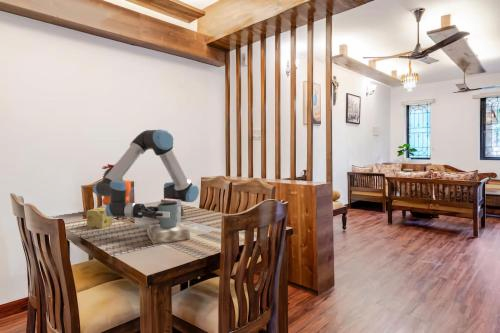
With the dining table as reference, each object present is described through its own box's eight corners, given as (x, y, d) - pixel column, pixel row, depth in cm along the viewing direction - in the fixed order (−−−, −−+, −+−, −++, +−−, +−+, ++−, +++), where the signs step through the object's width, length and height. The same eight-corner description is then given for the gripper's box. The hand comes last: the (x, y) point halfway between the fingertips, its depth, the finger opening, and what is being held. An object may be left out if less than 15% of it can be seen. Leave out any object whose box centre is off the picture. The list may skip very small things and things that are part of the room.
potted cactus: (92, 212, 218) (92, 163, 216) (111, 207, 240) (111, 162, 238) (120, 214, 215) (120, 164, 213) (137, 208, 237) (137, 162, 235)
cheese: (102, 228, 177) (101, 211, 176) (85, 227, 179) (85, 210, 179) (113, 224, 187) (113, 207, 187) (97, 223, 189) (97, 207, 189)
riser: (180, 230, 174) (180, 221, 174) (189, 239, 158) (189, 229, 158) (147, 234, 166) (147, 225, 166) (153, 243, 150) (153, 233, 150)
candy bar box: (160, 227, 181) (160, 199, 180) (165, 225, 186) (165, 198, 185) (176, 229, 177) (176, 200, 176) (181, 227, 182) (181, 199, 181)
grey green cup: (154, 227, 161) (153, 205, 159) (166, 222, 170) (165, 201, 169) (171, 229, 157) (170, 206, 156) (182, 224, 166) (181, 202, 165)
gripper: (146, 212, 176) (182, 214, 173) (123, 223, 152) (164, 224, 149) (146, 199, 176) (182, 201, 173) (122, 207, 151) (164, 209, 148)
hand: (174, 212), depth 161 cm, fingers open, 12 cm apart
